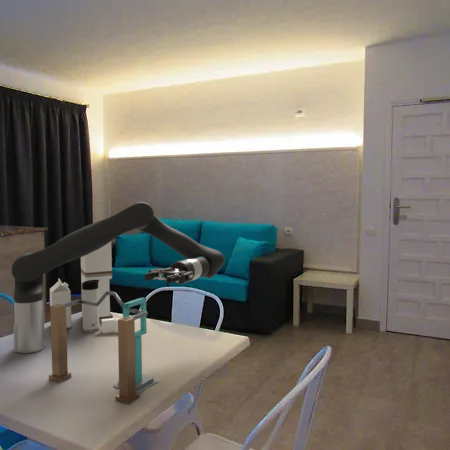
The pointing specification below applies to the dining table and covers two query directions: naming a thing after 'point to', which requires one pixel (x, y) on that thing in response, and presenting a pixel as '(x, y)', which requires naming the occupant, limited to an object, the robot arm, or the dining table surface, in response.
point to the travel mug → (90, 306)
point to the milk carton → (61, 298)
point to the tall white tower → (99, 275)
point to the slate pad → (141, 388)
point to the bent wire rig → (124, 347)
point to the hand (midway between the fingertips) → (156, 278)
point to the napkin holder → (110, 325)
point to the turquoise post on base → (138, 343)
